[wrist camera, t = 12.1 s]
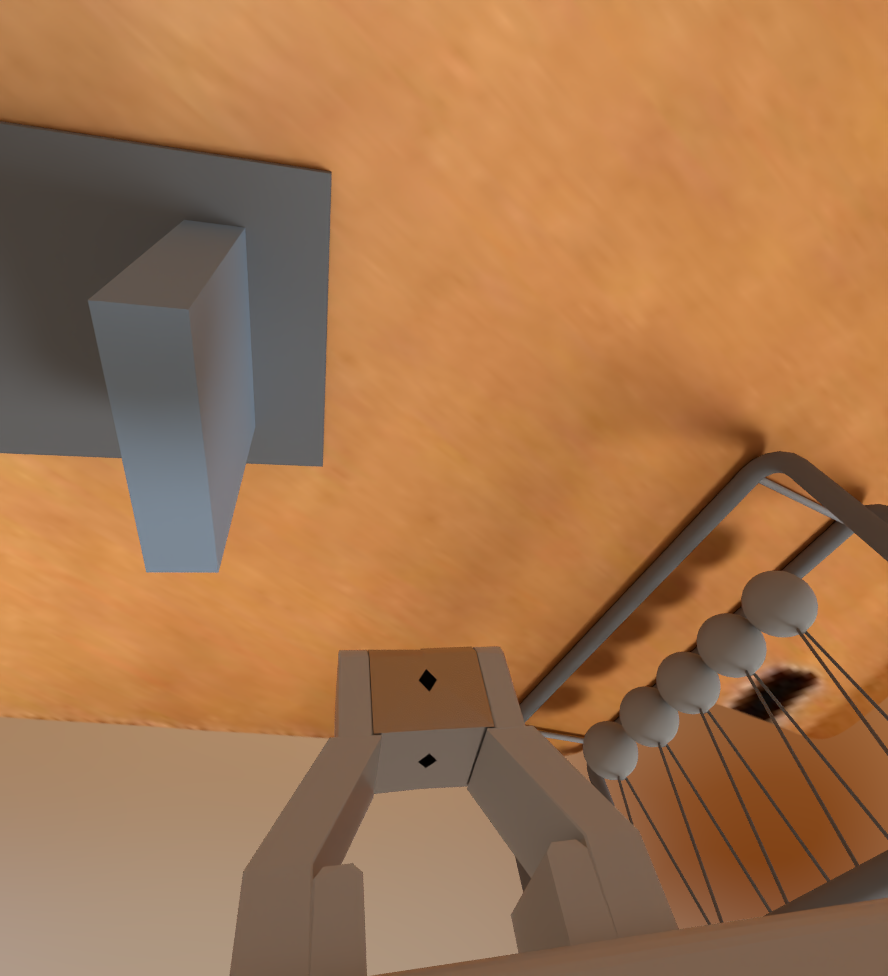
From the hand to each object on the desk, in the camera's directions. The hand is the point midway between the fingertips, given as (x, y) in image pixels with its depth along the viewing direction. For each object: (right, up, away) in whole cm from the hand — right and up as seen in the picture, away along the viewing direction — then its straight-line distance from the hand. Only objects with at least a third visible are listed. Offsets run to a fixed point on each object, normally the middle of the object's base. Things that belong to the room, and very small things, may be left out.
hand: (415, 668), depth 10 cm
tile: (-8, +9, +11) cm, 17 cm away
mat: (-12, +10, +11) cm, 19 cm away
